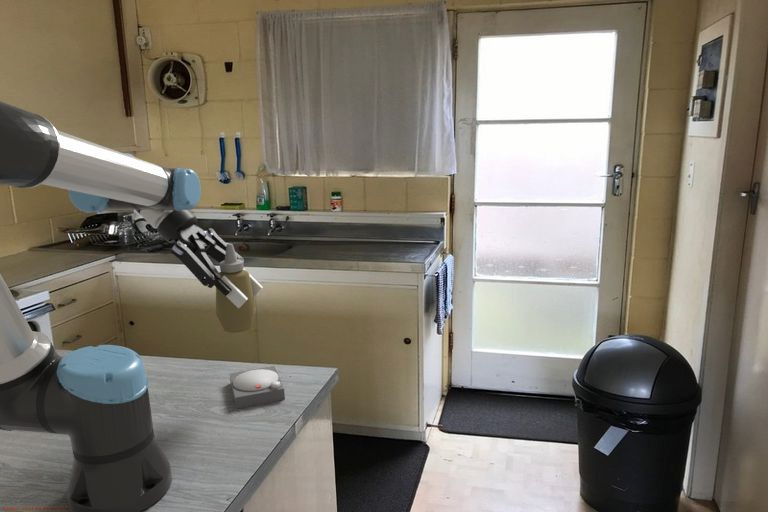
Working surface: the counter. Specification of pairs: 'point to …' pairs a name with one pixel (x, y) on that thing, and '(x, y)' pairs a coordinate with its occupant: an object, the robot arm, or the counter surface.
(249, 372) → the white dome on base
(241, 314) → the squeeze bottle
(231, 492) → the counter surface
